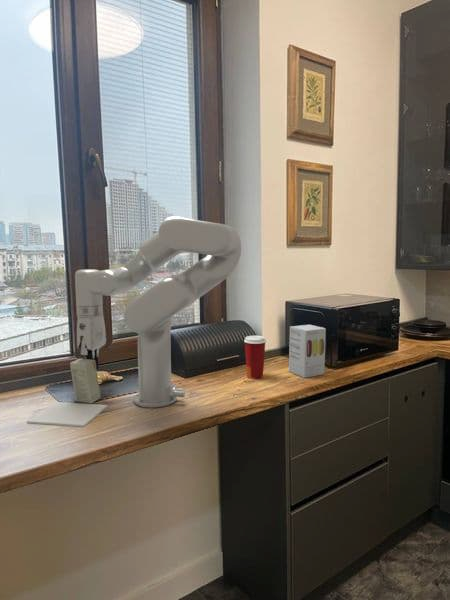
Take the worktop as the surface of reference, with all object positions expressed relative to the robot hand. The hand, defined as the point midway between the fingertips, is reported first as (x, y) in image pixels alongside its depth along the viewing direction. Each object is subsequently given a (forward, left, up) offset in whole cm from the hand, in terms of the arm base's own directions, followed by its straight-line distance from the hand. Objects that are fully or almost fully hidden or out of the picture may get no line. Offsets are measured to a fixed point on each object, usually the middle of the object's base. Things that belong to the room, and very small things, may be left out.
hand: (92, 370), depth 133 cm
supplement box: (-65, -34, -8) cm, 74 cm away
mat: (0, +15, -8) cm, 17 cm away
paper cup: (-47, -27, -8) cm, 55 cm away
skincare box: (0, +4, -8) cm, 9 cm away
